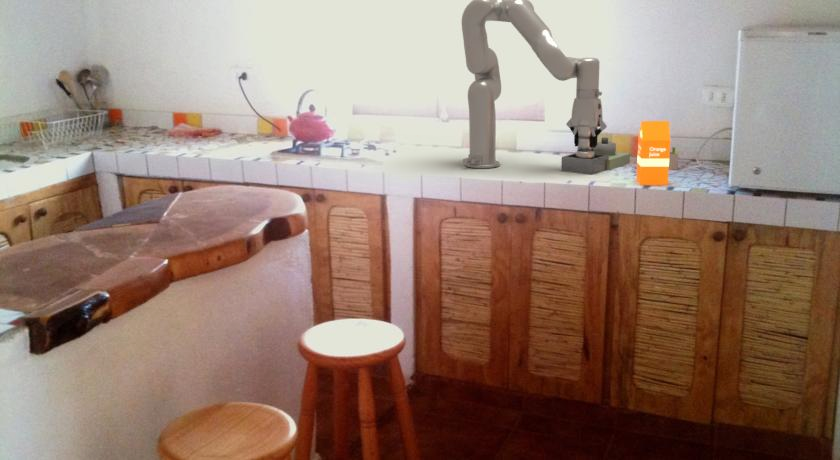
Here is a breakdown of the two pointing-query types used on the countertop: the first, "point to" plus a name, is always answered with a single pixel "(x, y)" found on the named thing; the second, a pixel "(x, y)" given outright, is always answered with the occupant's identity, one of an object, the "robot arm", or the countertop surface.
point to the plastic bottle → (584, 140)
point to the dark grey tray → (584, 164)
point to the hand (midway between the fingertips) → (585, 146)
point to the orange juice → (653, 153)
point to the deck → (618, 160)
